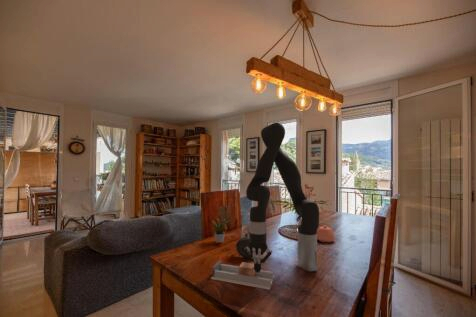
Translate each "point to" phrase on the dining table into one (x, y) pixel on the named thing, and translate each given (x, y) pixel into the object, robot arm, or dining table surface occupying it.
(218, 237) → the house plant
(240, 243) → the alarm clock
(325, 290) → the dining table surface
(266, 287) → the chute
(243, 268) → the block
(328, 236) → the sugar bowl
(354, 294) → the dining table surface
